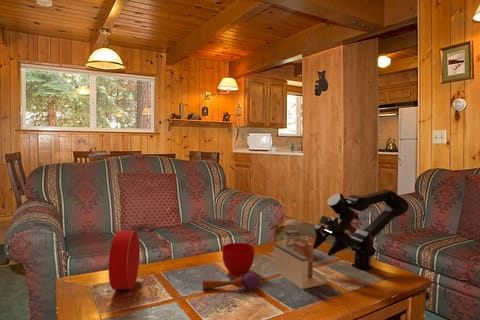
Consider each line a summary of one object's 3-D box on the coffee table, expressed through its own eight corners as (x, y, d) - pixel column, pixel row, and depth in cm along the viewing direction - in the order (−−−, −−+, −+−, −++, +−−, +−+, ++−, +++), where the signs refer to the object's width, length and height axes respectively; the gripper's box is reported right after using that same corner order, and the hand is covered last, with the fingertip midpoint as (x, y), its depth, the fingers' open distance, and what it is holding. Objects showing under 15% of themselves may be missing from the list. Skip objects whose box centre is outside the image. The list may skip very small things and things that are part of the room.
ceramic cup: (252, 262, 147) (252, 240, 146) (255, 279, 130) (255, 253, 129) (222, 262, 146) (222, 239, 146) (221, 278, 129) (221, 253, 129)
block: (304, 273, 134) (305, 236, 133) (312, 277, 129) (313, 240, 128) (294, 275, 131) (295, 238, 130) (301, 280, 127) (302, 241, 126)
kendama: (203, 274, 124) (257, 270, 124) (204, 291, 123) (259, 287, 124) (201, 278, 118) (258, 274, 118) (202, 296, 117) (260, 291, 118)
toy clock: (124, 275, 131) (123, 224, 130) (139, 275, 132) (139, 224, 130) (108, 300, 111) (108, 240, 110) (127, 299, 112) (126, 240, 110)
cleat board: (296, 266, 143) (297, 240, 143) (325, 283, 126) (326, 254, 126) (274, 270, 139) (274, 243, 138) (301, 289, 122) (302, 259, 121)
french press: (281, 247, 168) (283, 197, 167) (305, 248, 167) (306, 198, 165) (282, 253, 158) (283, 201, 157) (307, 255, 157) (308, 201, 156)
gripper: (317, 204, 143) (295, 233, 139) (348, 212, 126) (324, 245, 122) (332, 221, 147) (311, 249, 143) (364, 231, 130) (341, 264, 126)
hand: (320, 251), depth 133 cm, fingers open, 9 cm apart
